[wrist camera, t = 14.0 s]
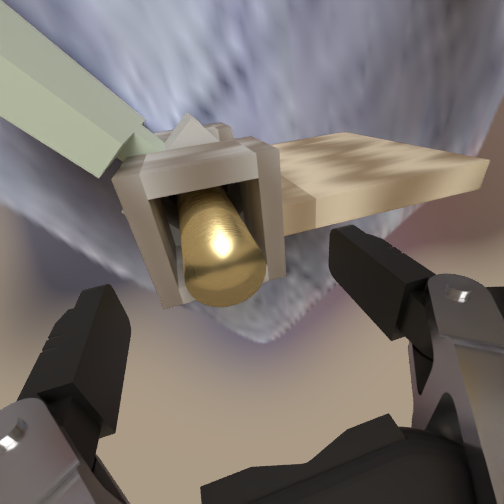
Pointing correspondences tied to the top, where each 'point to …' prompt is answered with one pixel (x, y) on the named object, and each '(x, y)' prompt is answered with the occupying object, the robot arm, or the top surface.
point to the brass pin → (217, 249)
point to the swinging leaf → (80, 109)
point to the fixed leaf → (281, 189)
